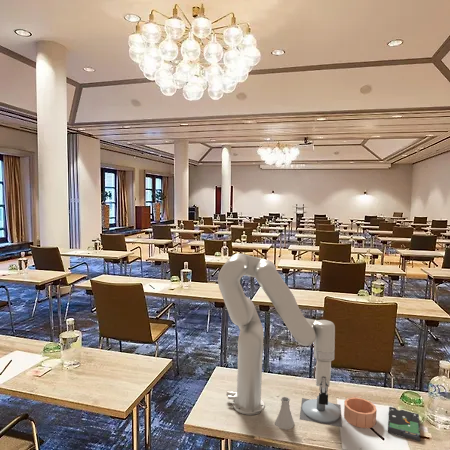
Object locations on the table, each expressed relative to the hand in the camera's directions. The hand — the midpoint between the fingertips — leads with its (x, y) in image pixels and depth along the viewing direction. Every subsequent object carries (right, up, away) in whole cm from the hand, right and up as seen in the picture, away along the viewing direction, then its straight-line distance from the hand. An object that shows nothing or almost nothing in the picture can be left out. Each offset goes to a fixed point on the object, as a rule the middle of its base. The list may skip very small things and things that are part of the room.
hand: (323, 397), depth 136 cm
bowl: (+12, -7, -3) cm, 15 cm away
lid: (-1, -6, 0) cm, 6 cm away
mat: (-1, -7, +1) cm, 7 cm away
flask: (-16, -7, -8) cm, 19 cm away
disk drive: (+28, -9, -5) cm, 30 cm away
